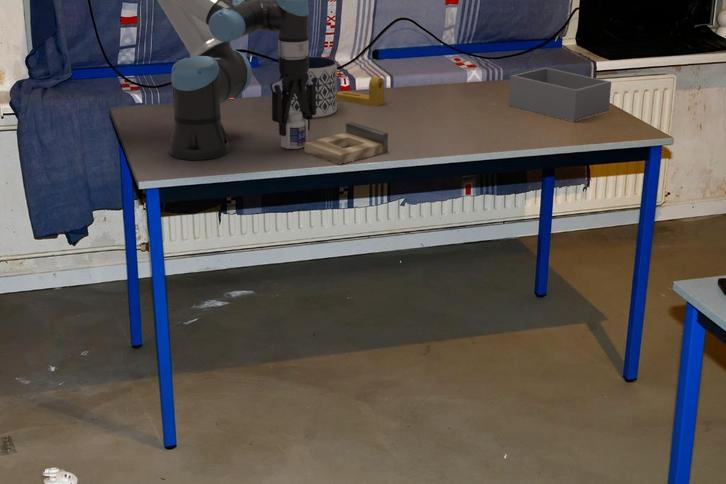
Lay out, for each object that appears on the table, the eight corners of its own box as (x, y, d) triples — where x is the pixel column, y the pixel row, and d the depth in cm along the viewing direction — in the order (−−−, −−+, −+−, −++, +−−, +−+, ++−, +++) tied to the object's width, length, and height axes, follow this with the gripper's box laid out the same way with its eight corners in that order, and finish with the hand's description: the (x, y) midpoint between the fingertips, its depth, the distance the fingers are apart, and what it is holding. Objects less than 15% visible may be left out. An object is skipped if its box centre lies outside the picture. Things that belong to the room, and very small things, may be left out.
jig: (340, 164, 271) (340, 145, 269) (304, 152, 280) (304, 133, 278) (387, 151, 281) (387, 133, 279) (351, 140, 290) (351, 121, 288)
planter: (347, 109, 319) (347, 60, 314) (315, 121, 307) (314, 71, 302) (304, 101, 327) (303, 53, 322) (270, 113, 315) (269, 63, 310)
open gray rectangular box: (573, 122, 307) (576, 90, 303) (508, 105, 323) (510, 75, 320) (608, 112, 316) (611, 81, 313) (543, 96, 333) (545, 67, 330)
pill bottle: (302, 149, 282) (301, 116, 278) (282, 148, 282) (281, 115, 279) (307, 144, 286) (306, 111, 283) (287, 142, 287) (287, 109, 284)
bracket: (384, 103, 326) (384, 76, 323) (376, 107, 322) (376, 79, 319) (341, 97, 333) (341, 70, 330) (333, 100, 330) (333, 73, 326)
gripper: (273, 64, 267) (275, 155, 276) (331, 54, 279) (331, 141, 287) (255, 58, 272) (257, 148, 281) (312, 49, 284) (312, 135, 293)
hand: (294, 145), depth 284 cm, fingers closed on pill bottle, 5 cm apart
